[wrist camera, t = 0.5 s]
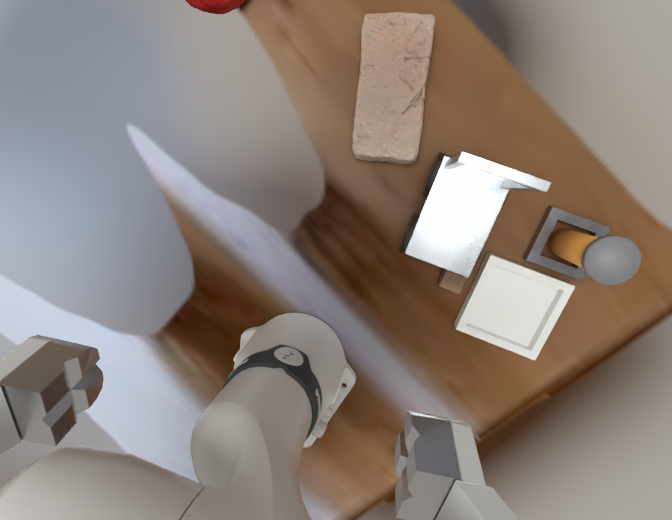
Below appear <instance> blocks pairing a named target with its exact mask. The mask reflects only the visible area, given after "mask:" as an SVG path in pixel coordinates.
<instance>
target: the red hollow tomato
mask: <svg viewBox="0 0 672 520" xmlns="http://www.w3.org/2000/svg"><path fill="white" fill-rule="evenodd" d="M186 1H187V2H188V3H189V4H190V5H191V6H192V7H194V8H197V9H199V10H201V11H204V12H208V13H214V14H224V13H227V12H230V11H232V10H234V9H236V8H238V7H239V6H240V5H241V4H243V3H244V2H245V1H246V0H186Z"/></svg>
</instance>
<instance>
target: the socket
mask: <svg viewBox="0 0 672 520" xmlns="http://www.w3.org/2000/svg"><path fill="white" fill-rule="evenodd" d="M557 220H559V221H562V222H565V223H567V224H570V225H573V226H576V227H579V228H581V229H584V230H587V231H590V233H589V235H591V236H595V237H602V236H607V234H608V232H609V231H610V229H611V227H608V226H605V225H602V224H600V223H597V222H594V221H591V220H588V219H586V218H583V217H580V216H577V215H574V214H571V213H569V212H566V211H563V210H560V209H557V208H555V207H550V206H548V208H547V210H546V212H545V214H544V216H543V218H542V220H541V222H540V224H539V226H538V228H537V230H536V232H535V234H534V236H533V238H532V240H531V242H530V244H529V246H528V248H527V250H526V252H525V254H524V256H523V258H524V259H525V260H527V261H530V262H532V263H535V264H538V265H541V266H543V267H546V268H549V269H551V270H554V271H557V272H559V273H562V274H565V275H567V276H570V277H573V278H576V279H578V280H581V281H582V280H583V278H584V276H585V274H586V273H585V272H584V270H583V268H582V267H580V266H578V265H575V264H573V265H572V266H570V265H567V264H565V263H562V262H559V261H556V260H554V259H551V258H548V257H546V256H543V255H540V254H541V252H542V250H543V248H544V246H545V244H546V242H547V240H548V238H549V236H550V234H551V232H552V230H553V228H554V226H555V224H556V222H557Z"/></svg>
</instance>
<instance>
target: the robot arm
mask: <svg viewBox="0 0 672 520" xmlns="http://www.w3.org/2000/svg"><path fill="white" fill-rule="evenodd" d="M99 359H100V357H99V353H98V349H96V348H93V347H89V346H85V345H81V344H76V343H72V342H68V341H63V340H59V339H54V338H49V337H45V336H40V335H36V336H33V337H29V338H28V339H27V340H25V341H24V342H23V343H21V344H20V345H19V346H18V347H16V348H15V349H14V350H12V351H11V352H10V353H8V354H7V355H6V356H4V357H3V358H2V359H0V454H1V453H3V452H5V451H7V450H8V449H10V448H12V447H13V446H15V445H17V444H18V443H20V442H21V440H25V441H30V442H36V443H41V444H47V445H53V446H57V444H58V443H59V442H60V441H61V440H62V439H63V438H64V436H65V435H66V434H67V433H68V432H69V431H70V429H71V428H72V427H73V426H74V425H75V424H76V419H77V414H78V413H80V412H82V411H84V410H86V409H88V408H89V407H90V406H91V405H92V404H93V403H94V401H95V400H96V399H97V397H98V395H99V393H100V391H101V389H102V385H103V373H102V371H101V370H100V368H99V367H98V366H97V365H96V363H97V361H98V360H99ZM233 361H234V362H235V364H234V370H233V371H232V373H231V374H230V375H229V377H228V379H227V381H226V382H225V384H224V386H223V389H222V391H221V392H220V393H219V394H218V395H217V396H216V397H215V399H214V400H213V401H212V402H211V403H210V404H209V405H208V407H207V408H206V409H205V410H204V411H203V412H202V413H201V415H200V416H199V418H198V420H197V422H196V424H195V426H194V429H193V432H192V436H191V446H190V447H191V456H192V462H193V466H194V470H195V474H196V476H197V478H198V481H199V482H200V484H199V483H197V482H195V481H192V480H190V479H188V478H186V477H183V476H181V475H179V474H176V473H174V472H172V471H170V470H167V469H165V468H163V467H160V466H158V465H156V464H154V463H151V462H149V461H147V460H144V459H142V458H140V457H138V456H135V455H133V454H128V453H122V452H117V451H112V450H107V449H100V448H94V447H88V446H81V445H69V446H64V447H62V448H59V449H57V450H55V451H52V452H50V453H48V454H46V455H44V456H43V457H41V458H39V459H37V460H35V461H34V462H32V463H31V464H29V465H28V466H26V467H25V468H24V469H22V470H21V471H20V472H19V473H17V474H16V475H15V476H14V477H13V478H11V479H10V480H9V481H8V482H7V483H6V484H5V485H4V486H3V487H2V488H1V489H0V520H311V519H310V516H309V514H308V512H307V510H306V507H305V505H304V502H303V499H302V496H301V493H300V489H299V484H298V477H297V471H298V465H299V460H300V456H301V453H302V449H303V448H305V447H310V446H311V445H312V444H313V443H314V441H315V440H316V439H317V437H318V438H321V437H322V435H323V434H324V432H325V430H326V427H327V423H328V421H329V420H330V419H331V417H332V416H333V414H334V413H335V411H336V410H337V409H338V407H339V406H340V404H341V403H342V401H343V400H344V399H345V397H346V396H347V394H348V393H349V391H350V390H351V389H352V387H353V386H354V384H355V382H356V379H357V378H356V374H355V372H354V371H353V369H352V368H351V367H350V365H349V364H348V363H347V361H346V358H345V354H344V350H343V347H342V344H341V342H340V340H339V338H338V337H337V335H336V334H335V332H334V331H333V330H332V329H331V328H330V327H329V326H328V325H327V324H325V323H324V322H323V321H321V320H319V319H318V318H316V317H313V316H311V315H307V314H303V313H286V314H282V315H279V316H276V317H274V318H273V319H271V320H270V321H268V322H267V323H265V324H264V325H262V326H258V327H252V328H249V329H246V330H245V331H244V332H243V334H242V335H241V342H240V350H239V351H238V352H237V354H236V355H235V357H234V359H233ZM342 383H345V384H346V386H343V385H342ZM395 472H396V474H397V475H398V477H399V480H398V483H397V486H396V488H395V495H396V517H397V518H401V519H405V520H518V518H517V517H516V516H515V515H514V513H513V512H512V511H511V510H510V509H509V507H508V506H507V505H506V504H505V502H504V501H503V500H502V499H501V497H500V496H499V495H498V494H497V493H496V491H495V490H494V489H493V488H492V487H488V486H486V484H485V480H484V476H483V472H482V468H481V464H480V460H479V456H478V452H477V448H476V444H475V440H474V436H473V432H472V429H471V426H470V424H469V423H468V422H464V421H459V420H454V419H449V418H448V419H447V418H445V417H440V416H434V415H429V414H424V413H418V412H413V411H408V413H407V414H406V416H405V419H404V430H403V431H401V432H400V433H399V436H398V439H397V443H396V449H395Z"/></svg>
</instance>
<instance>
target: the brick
mask: <svg viewBox="0 0 672 520" xmlns="http://www.w3.org/2000/svg"><path fill="white" fill-rule="evenodd" d="M434 30H435V17H434V16H433V15H430V14H428V15H427V14H422V15H420V14H418V13H375V14H366V15H365V18H364V21H363V24H362V29H361V57H360V59H361V60H360V73H359V83H358V91H357V99H356V108H355V121H354V129H353V146H352V148H353V154H354V155H355V158H356V159H359V160H366V161H380V162H389V163H395V164H398V165H410V164H413V163H414V162H415V161H416V157H417V156H418V151H419V144H420V138H421V132H422V125H423V112H424V99H425V89H426V82H427V77H428V73H429V67H430V58H431V52H432V45H433V37H434Z"/></svg>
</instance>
